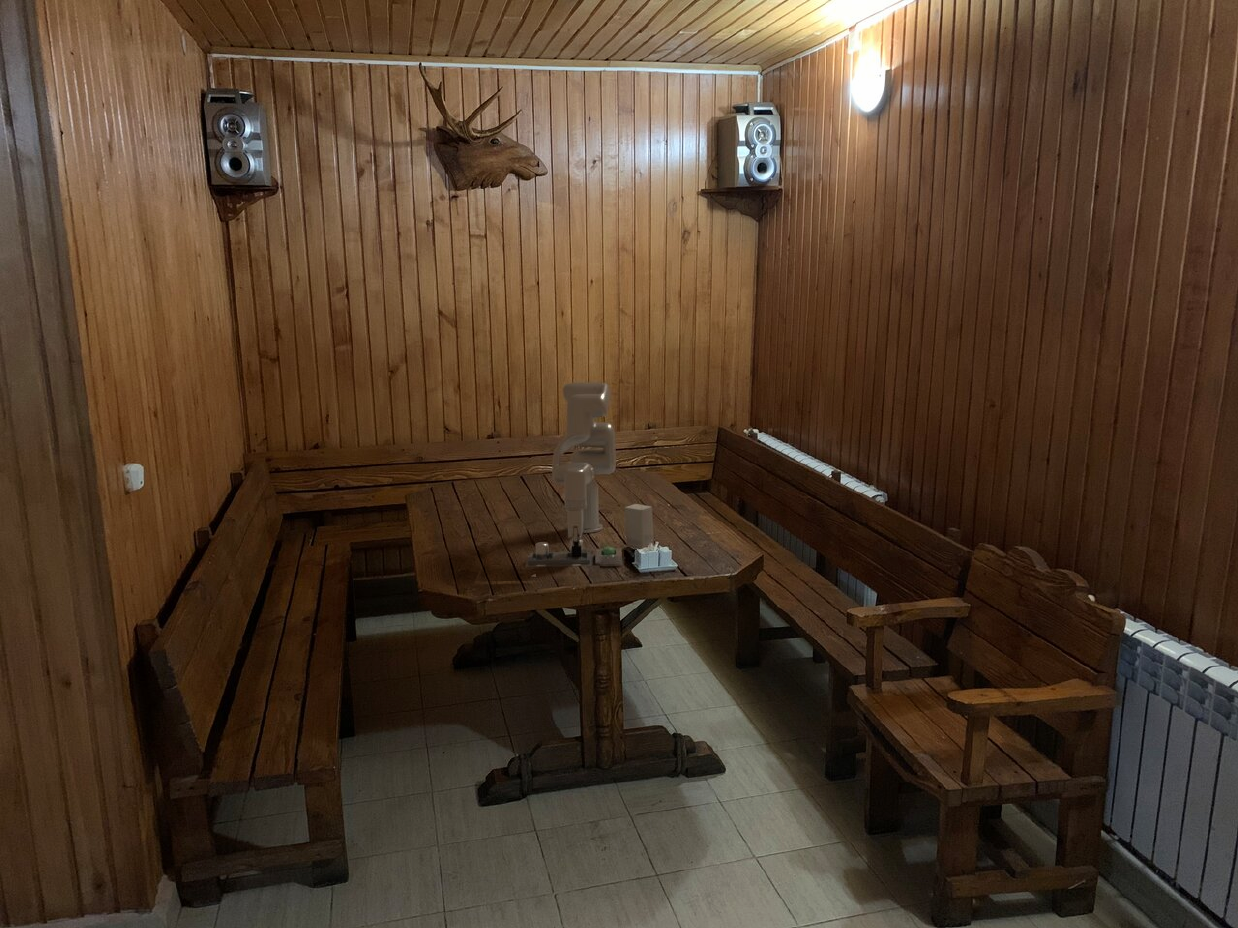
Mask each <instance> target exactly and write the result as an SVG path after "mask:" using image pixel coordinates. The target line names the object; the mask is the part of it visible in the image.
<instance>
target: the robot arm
mask: <svg viewBox="0 0 1238 928" xmlns="http://www.w3.org/2000/svg"><path fill="white" fill-rule="evenodd" d="M562 394H563V398H564V400H565V402H566V403H567V404H566V427H565V428H566V429H565V433H566V434H565V436H564V437H563V438H562V439H561V440H560V441H559V442H558V444H557V445H556V447H555V449H554V452H553V455H552V464H551V465H552V467H551V474H552V477H551V478H552V480H553V481H554V483H555V484H557V485H563V492H564V496H563V497H564V509H565V510H567V538H568V539H570V538H571V539H572V557H581V546H580V538H581V539H582V537H583V534H589V533H591V534H592V533H596V532H600V531H602V530H603V529H604V528H603V524H602V523H600V522H599V521H600V519H599V518H600V517H599V516H600V515H599V513H600V512H599V485H598V482H597V480H596V479H595V477H594V476H595V475H611V474H613V473H614V472H615V471H616V467H617V465H616V464H617V455H616V453H617V451H616V435H615V434H616V432H615V428H614V426H613V424H611V423H610V422H606V421H605V422H604V421H603V422H596V420H595V418H605V417H606V416H607V414H608V412H609V408H610V407H609V405H610V400H611V389H610V386H609V385H608V383H606V382H569V383H567V384H565V385H564V386H563V387H562ZM575 446H577V447H579V448H586V449H577V450H574V451H573V452H572V453H571V454H570V455H571V456H570V458H569V459H570V460H569V461H570V462H562V458H563V455H564V453H565V452H567V451H568V450H570V449H571V448H573V447H575ZM587 448H589V449H587ZM592 448H596V449H592ZM597 448H601V449H597ZM578 539H579V540H578Z"/></svg>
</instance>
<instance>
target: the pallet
mask: <svg viewBox="0 0 1238 928" xmlns="http://www.w3.org/2000/svg"><path fill="white" fill-rule="evenodd" d="M583 553H584V557H583V558H579V559H574V558H571V553H570V551H552V552H550V551H549V559H543V560H536V552H530V554H528V555H527V558H526V562H525V565H524V567H525V568H534V567H536V568H537V567H538V568H540V567H542V568H543V567H546V568H548V567H550V568H551V567H592V566H594V565H593V564H594V563H593V562H594V553H591V551H583Z"/></svg>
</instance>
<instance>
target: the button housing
mask: <svg viewBox="0 0 1238 928" xmlns="http://www.w3.org/2000/svg"><path fill="white" fill-rule="evenodd" d="M622 549H623V548H621V547H619V548H618V547H617V548H616V547H614V551H615V555H603V548H595V564H596V565H599V567H622V566H623V552H622Z"/></svg>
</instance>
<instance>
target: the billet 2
mask: <svg viewBox="0 0 1238 928" xmlns="http://www.w3.org/2000/svg"><path fill="white" fill-rule="evenodd" d="M578 540H579V539H578ZM569 543H570V544H569V546H570V551H569V552H570V553H571V558H574V559H579V558H583V557H584V553H583V552H584V539H583V538H582V537H581V538H580V546H581V557H572V538H571V539H569Z"/></svg>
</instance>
